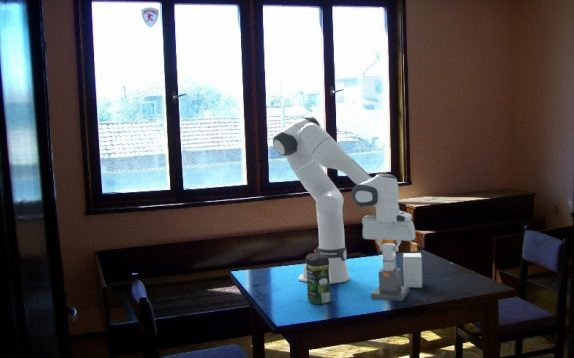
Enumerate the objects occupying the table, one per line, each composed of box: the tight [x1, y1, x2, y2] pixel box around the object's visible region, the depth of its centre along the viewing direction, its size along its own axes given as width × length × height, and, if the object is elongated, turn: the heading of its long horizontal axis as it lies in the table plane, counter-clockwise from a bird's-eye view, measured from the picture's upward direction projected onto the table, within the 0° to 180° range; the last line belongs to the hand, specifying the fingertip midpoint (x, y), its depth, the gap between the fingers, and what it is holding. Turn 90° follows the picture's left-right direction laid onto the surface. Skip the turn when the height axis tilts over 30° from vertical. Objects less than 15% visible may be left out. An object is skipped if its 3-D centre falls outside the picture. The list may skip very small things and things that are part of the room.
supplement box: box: [402, 252, 423, 288], centre depth 245 cm, size 7×7×13 cm
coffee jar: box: [305, 252, 332, 305], centre depth 230 cm, size 10×8×19 cm
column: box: [382, 242, 397, 272], centre depth 233 cm, size 4×4×18 cm
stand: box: [370, 267, 411, 302], centre depth 233 cm, size 12×12×10 cm
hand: (389, 250), depth 232 cm, fingers closed on column, 4 cm apart
